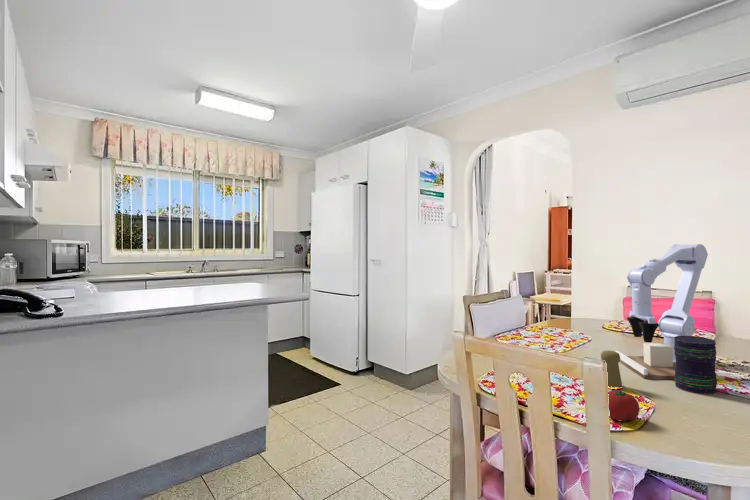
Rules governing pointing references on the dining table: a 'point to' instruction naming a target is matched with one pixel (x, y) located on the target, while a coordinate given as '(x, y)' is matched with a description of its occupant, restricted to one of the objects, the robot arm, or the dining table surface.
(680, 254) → the robot arm
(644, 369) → the brown tray
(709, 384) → the dark blue cylinder
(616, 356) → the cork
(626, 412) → the tomato
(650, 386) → the dining table surface
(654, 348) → the carton
